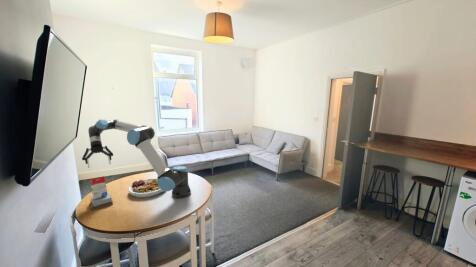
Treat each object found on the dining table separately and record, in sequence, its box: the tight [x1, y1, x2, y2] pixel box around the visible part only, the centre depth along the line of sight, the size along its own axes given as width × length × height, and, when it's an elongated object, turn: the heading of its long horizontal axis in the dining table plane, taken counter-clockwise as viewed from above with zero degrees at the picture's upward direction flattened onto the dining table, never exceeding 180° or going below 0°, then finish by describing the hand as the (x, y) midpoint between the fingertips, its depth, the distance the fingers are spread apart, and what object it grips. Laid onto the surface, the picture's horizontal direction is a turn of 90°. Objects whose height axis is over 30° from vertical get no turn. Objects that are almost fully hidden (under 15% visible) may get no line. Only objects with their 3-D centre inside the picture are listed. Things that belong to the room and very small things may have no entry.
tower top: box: [90, 192, 113, 206], centre depth 152 cm, size 11×11×3 cm
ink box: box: [90, 176, 108, 199], centre depth 151 cm, size 8×5×15 cm, turn 136°
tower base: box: [90, 194, 114, 211], centre depth 153 cm, size 13×13×3 cm
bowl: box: [128, 177, 164, 198], centre depth 174 cm, size 30×30×8 cm
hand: (99, 165), depth 156 cm, fingers open, 13 cm apart
